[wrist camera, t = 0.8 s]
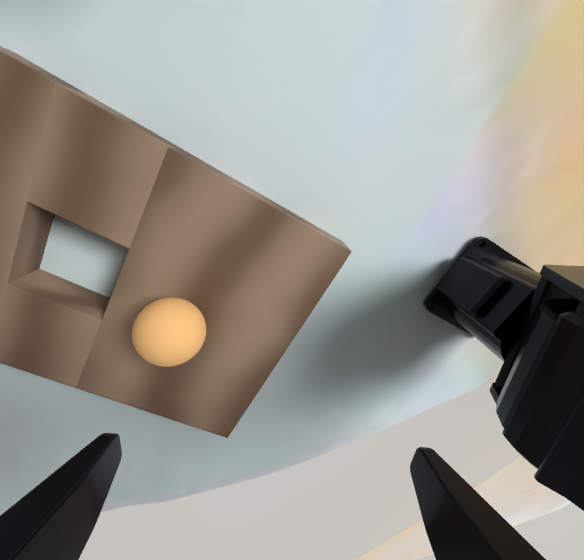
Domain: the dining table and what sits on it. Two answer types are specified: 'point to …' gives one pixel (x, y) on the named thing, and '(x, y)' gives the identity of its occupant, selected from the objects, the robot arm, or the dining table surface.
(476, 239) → the robot arm
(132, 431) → the dining table surface
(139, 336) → the ball
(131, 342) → the pocket board
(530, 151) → the dining table surface
